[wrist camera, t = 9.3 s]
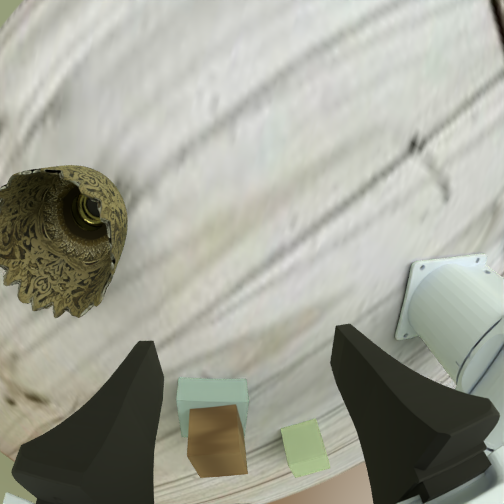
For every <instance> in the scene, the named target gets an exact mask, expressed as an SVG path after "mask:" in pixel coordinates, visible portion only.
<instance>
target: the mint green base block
mask: <svg viewBox="0 0 504 504" xmlns="http://www.w3.org/2000/svg"><path fill="white" fill-rule="evenodd" d="M176 401H177V408H178V415H179V422H180V429H181V435H182V437H188V429H189V412H190V409H195V408H206V407H216V406H225V405H233V404H236V405H237V409H238V413H239V416H240V420H241V423H242V427H243V432H244V436H245V428H246V420H247V412H248V404H249V399H248V390H247V382H246V379H205V378H181V377H179V380H178V389H177V398H176Z"/></svg>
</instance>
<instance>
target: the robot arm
mask: <svg viewBox="0 0 504 504" xmlns="http://www.w3.org/2000/svg"><path fill="white" fill-rule="evenodd" d="M486 261H487V255H486V254H484V253H482V254H474V255H465V256H457V257H448V258H440V259H431V260H422V261H415V262H414V263H413V264H412V266H411V269H410V275H409V279H408V284H407V289H406V294H405V298H404V302H403V307H402V311H401V315H400V319H399V323H398V327H397V330H396V334H395V338H396V339H397V340H398V341H399V340H404V339H409V338H413V337H417V336H420V337H421V339H422V340H423V341H424V343H425V344H426V345H427V346H428V348H429V349H430V350H431V352H432V353H433V354H434V356H435V357H436V358H437V360H438V361H439V362H440V364H441V365H442V366H443V368H444V369H445V370H446V372H447V373H448V374H449V376H450V377H451V378H452V380H453V381H454V383H455V384H456V385H457V386H456V388H455V390H454V389H451V388H449V387H446V386H444V385H441V384H439V383H437V382H434V381H432V380H430V379H428V378H426V377H424V376H422V375H420V374H418V373H417V372H415V371H413V370H411V369H410V368H408V367H406V366H405V365H403V364H402V363H400V362H399V361H397V360H396V359H394V358H393V357H391V356H390V355H389V354H387V353H386V352H385V351H383V350H382V349H381V348H379V347H378V346H377V345H376V344H374V343H373V342H372V341H371V340H369V339H368V338H367V337H366V336H364V335H363V334H362V333H361V332H360V331H358V330H357V329H356V328H355V327H353V326H352V325H351V324H345V325H338V326H336V328H335V335H334V342H333V348H332V355H331V361H330V364H331V367H332V371H333V374H334V378H335V381H336V384H337V386H338V389H339V391H340V393H341V396H342V398H343V400H344V403H345V405H346V407H347V409H348V412H349V414H350V416H351V418H352V421H353V423H354V425H355V428H356V431H357V434H358V437H359V440H360V444H361V447H362V451H363V455H364V459H365V463H366V467H367V471H368V476H369V480H370V485H371V491H372V497H373V503H374V504H504V278H503V277H501V276H500V275H499V274H497V273H496V272H495V271H493V270H492V269H491V268H489V267H488V266H487V265H486ZM422 265H423V266H422ZM421 266H422V267H421ZM420 267H421V268H420ZM404 334H405V335H404ZM163 387H164V375H163V372H162V369H161V365H160V362H159V359H158V355H157V352H156V348H155V345H154V341H139V342H138V343H137V344H136V345H135V346H134V348H133V349H132V350H131V352H130V353H129V354H128V356H127V357H126V358H125V360H124V361H123V362H122V363H121V365H120V366H119V367H118V368H117V370H116V371H115V372H114V373H113V375H112V376H111V377H110V378H109V380H108V381H107V382H106V383H105V384H104V385H103V386H102V387H101V389H100V390H99V391H98V392H97V393H96V394H95V395H94V396H93V397H92V398H91V399H90V400H89V401H88V402H87V403H86V404H85V405H83V406H82V407H81V408H80V409H79V410H78V411H76V412H75V413H74V414H72V415H71V416H70V417H69V418H67V419H66V420H65V421H63V422H62V423H60V424H59V425H57V426H56V427H54V428H53V429H51V430H50V431H48V432H46V433H45V434H43V435H41V436H39V437H37V438H35V439H33V440H31V441H29V442H27V443H25V444H23V445H21V447H20V449H19V452H18V455H17V457H16V460H15V463H14V466H13V468H12V475H13V477H14V478H15V480H16V481H17V482H18V483H19V484H20V485H22V486H23V487H24V488H25V489H26V490H27V491H29V492H30V493H31V494H32V495H34V496H35V497H36V498H37V501H36V504H154V487H153V468H154V448H155V440H156V435H157V429H158V423H159V418H160V412H161V406H162V400H163ZM3 504H34V503H32V502H30V501H28V500H26V499H23V498H21V497H18V496H15V495H13V494H11V493H6V494H5V498H4V501H3Z"/></svg>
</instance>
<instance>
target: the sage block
mask: <svg viewBox="0 0 504 504" xmlns="http://www.w3.org/2000/svg"><path fill="white" fill-rule="evenodd" d="M281 433H282V438H283V443H284V448H285V452H286V457H287V462H288V466H289V468H290V469H291V471H292V473H293V475H294V476H295V478H297V477H301V476H304V475H308V474H312V473H315V472H319V471H322V470H325V469H329V468H330V464H329V460H328V457H327V453H326V450H325V447H324V443H323V440H322V437H321V434H320V430H319V427H318V424H317V421H316V419H312V420H309V421H306V422H302V423H299V424H295V425H292V426H288V427H284V428H281Z"/></svg>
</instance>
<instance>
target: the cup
mask: <svg viewBox="0 0 504 504" xmlns="http://www.w3.org/2000/svg"><path fill="white" fill-rule="evenodd" d="M88 198H90V200H91V201H93V202H97V203H98V205H97V206H98V211H99V213H100V216H94V215H92V214H91V213H90V212H89V210H88V208H87V199H88ZM0 200H1V202H0V267H2V268H3V269H4V270H5V272H6V274H5V275H4V276H3V277H4V279H3V281H4V285H5V286H10V285H14V284H19V283H17V282H20V284H19V287H18V294H17V295H18V298H19V300H20V301H21V302H22V303H27V304H29V303H31V305H32V310H33V311H38V310H41V309H44V308H45V309H48V308H50V307H51V306H53V313H54V317H55V318H58V317H59V316H61V315H62V314H63V313H64V312H65V311H68V312H69V313H70V314H71V315H72V316H76V317H78V318H79V317H81V316H83V315H84V314H85V313H87V312H88V311H89V310H90V309H91V308H92V307H93V306H94V305H95V306H98V305H99V304H100V303H101V301H102V299H103V297H104V294H105V292H106V289H107V287H108V286H109V284H110V282H111V281H112V277H113V275H114V273H115V269H116V267H117V264H118V261H119V259H120V256H121V253H122V250H123V247H124V244H125V239H126V235H127V212H126V207H125V204H124V201H123V198H122V196H121V194H120V192H119V191H118V189H117V188H116V186H115V185H114V184H113V183H112V182H111V181H110V180H109V179H108V178H107V177H106V176H104V175H103V174H102V173H100V172H98V171H96V170H94V169H91V168H88V167H83V166H74V165H66V166H56V167H48V168H41V169H33V170H27V171H23V172H19V173H16V174H14V175H12V176H11V178H10V179H9V181H8V183H7V184H6V185H4V186H2V187H1V188H0Z"/></svg>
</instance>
